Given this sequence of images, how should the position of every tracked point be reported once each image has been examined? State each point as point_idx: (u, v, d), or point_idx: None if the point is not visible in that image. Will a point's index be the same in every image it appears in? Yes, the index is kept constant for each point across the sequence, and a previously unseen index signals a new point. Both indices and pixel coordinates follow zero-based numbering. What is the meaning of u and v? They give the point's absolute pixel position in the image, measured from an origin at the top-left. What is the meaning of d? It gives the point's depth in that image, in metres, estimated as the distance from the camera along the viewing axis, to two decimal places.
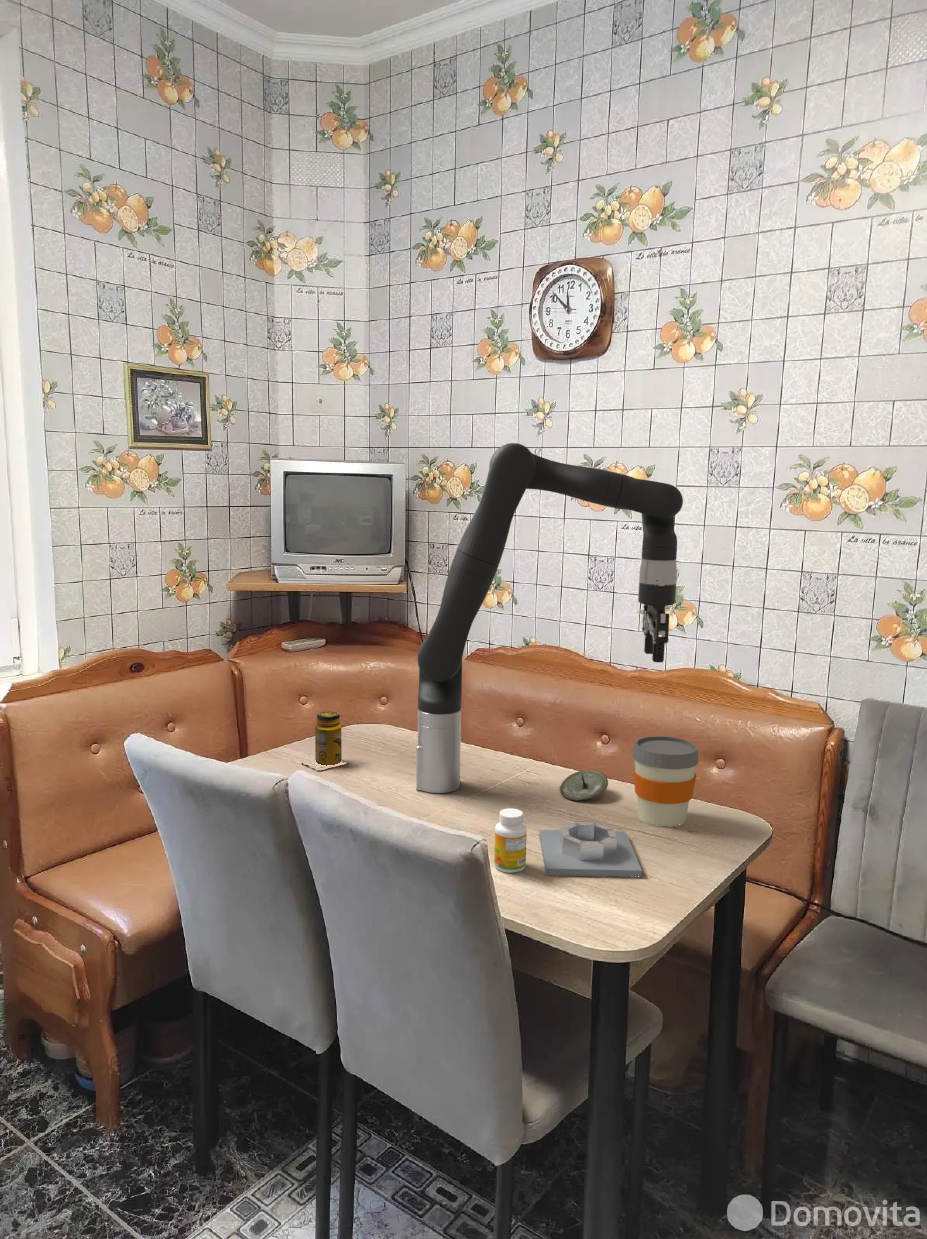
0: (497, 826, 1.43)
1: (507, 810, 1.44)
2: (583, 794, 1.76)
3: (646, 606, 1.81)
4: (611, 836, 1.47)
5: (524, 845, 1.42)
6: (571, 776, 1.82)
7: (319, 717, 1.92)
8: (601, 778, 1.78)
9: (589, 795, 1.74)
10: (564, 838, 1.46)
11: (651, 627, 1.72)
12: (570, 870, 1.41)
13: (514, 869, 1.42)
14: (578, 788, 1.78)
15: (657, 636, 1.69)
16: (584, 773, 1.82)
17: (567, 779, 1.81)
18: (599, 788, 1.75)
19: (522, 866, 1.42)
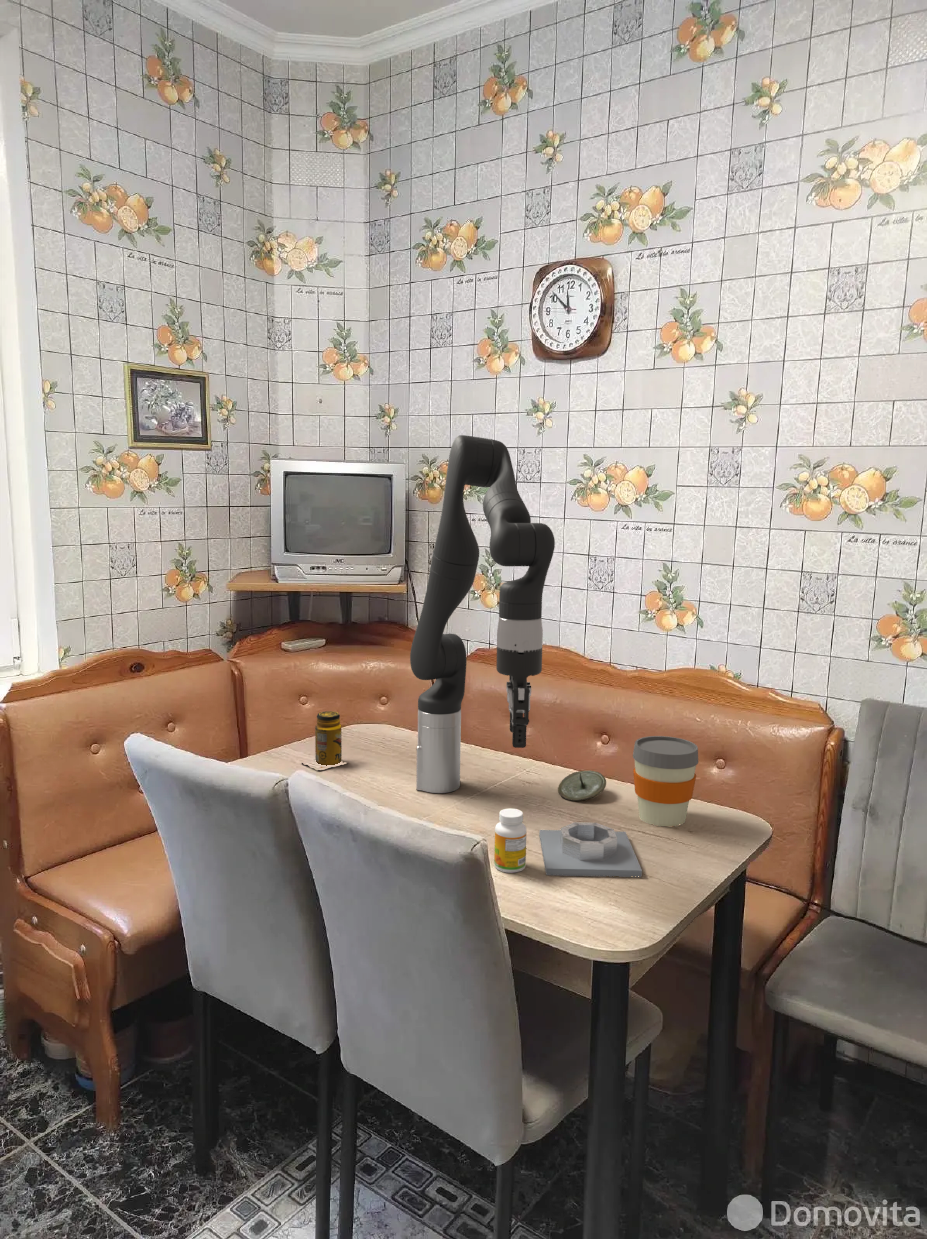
0: (497, 826, 1.43)
1: (507, 810, 1.44)
2: (581, 794, 1.76)
3: None
4: (611, 836, 1.47)
5: (524, 845, 1.42)
6: (569, 776, 1.82)
7: (319, 717, 1.92)
8: (599, 778, 1.78)
9: (587, 795, 1.74)
10: (564, 838, 1.46)
11: (510, 703, 1.37)
12: (570, 870, 1.41)
13: (514, 869, 1.42)
14: (576, 789, 1.78)
15: (514, 717, 1.33)
16: (582, 773, 1.82)
17: (565, 779, 1.81)
18: (597, 788, 1.75)
19: (522, 866, 1.42)
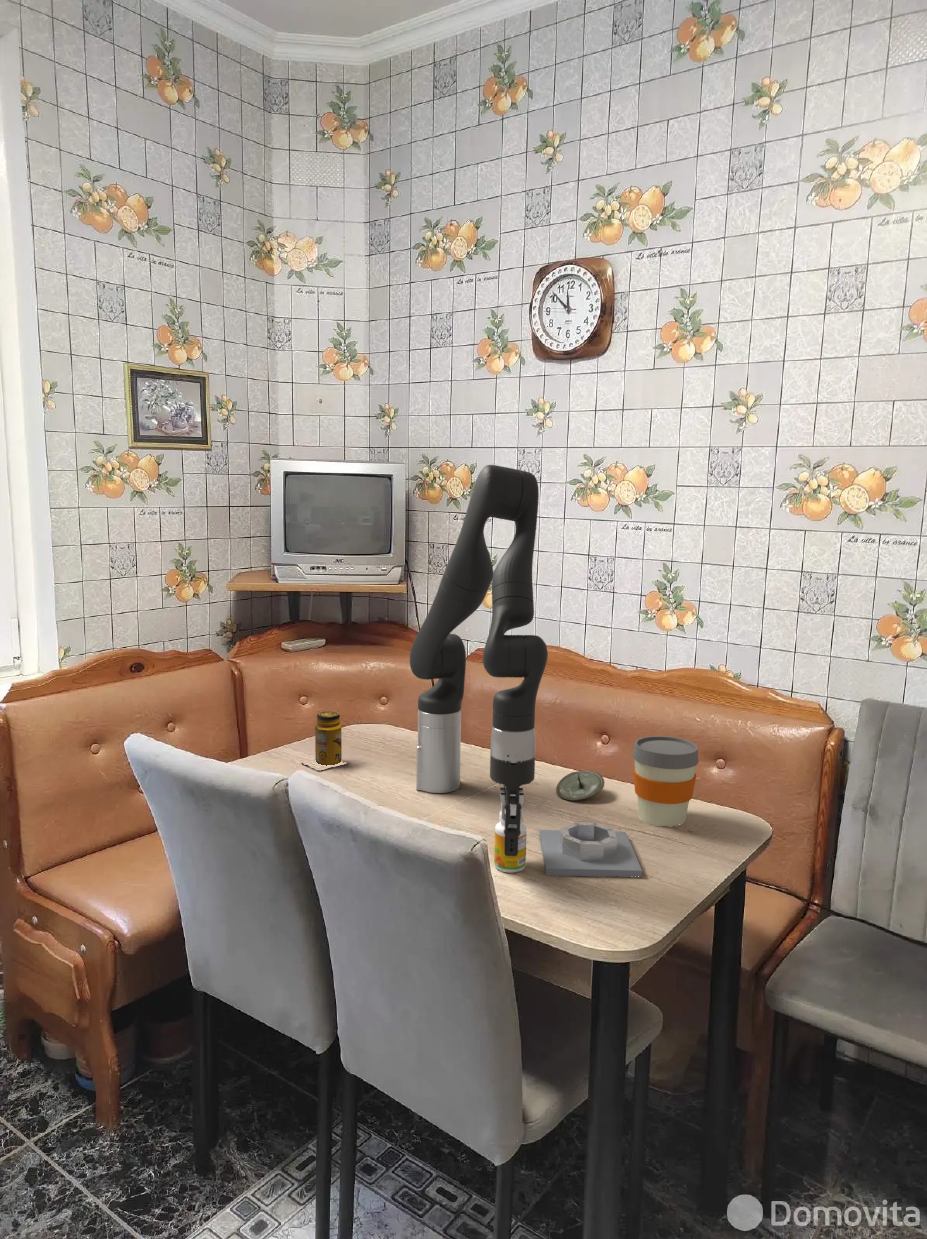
0: (497, 826, 1.43)
1: None
2: (579, 794, 1.76)
3: None
4: (611, 836, 1.47)
5: (524, 845, 1.42)
6: (567, 776, 1.82)
7: (319, 717, 1.92)
8: (597, 778, 1.78)
9: (586, 795, 1.74)
10: (564, 838, 1.46)
11: (502, 813, 1.40)
12: (570, 870, 1.41)
13: (514, 869, 1.42)
14: (575, 789, 1.78)
15: (506, 830, 1.37)
16: (580, 773, 1.82)
17: (563, 779, 1.81)
18: (595, 788, 1.75)
19: (522, 866, 1.42)
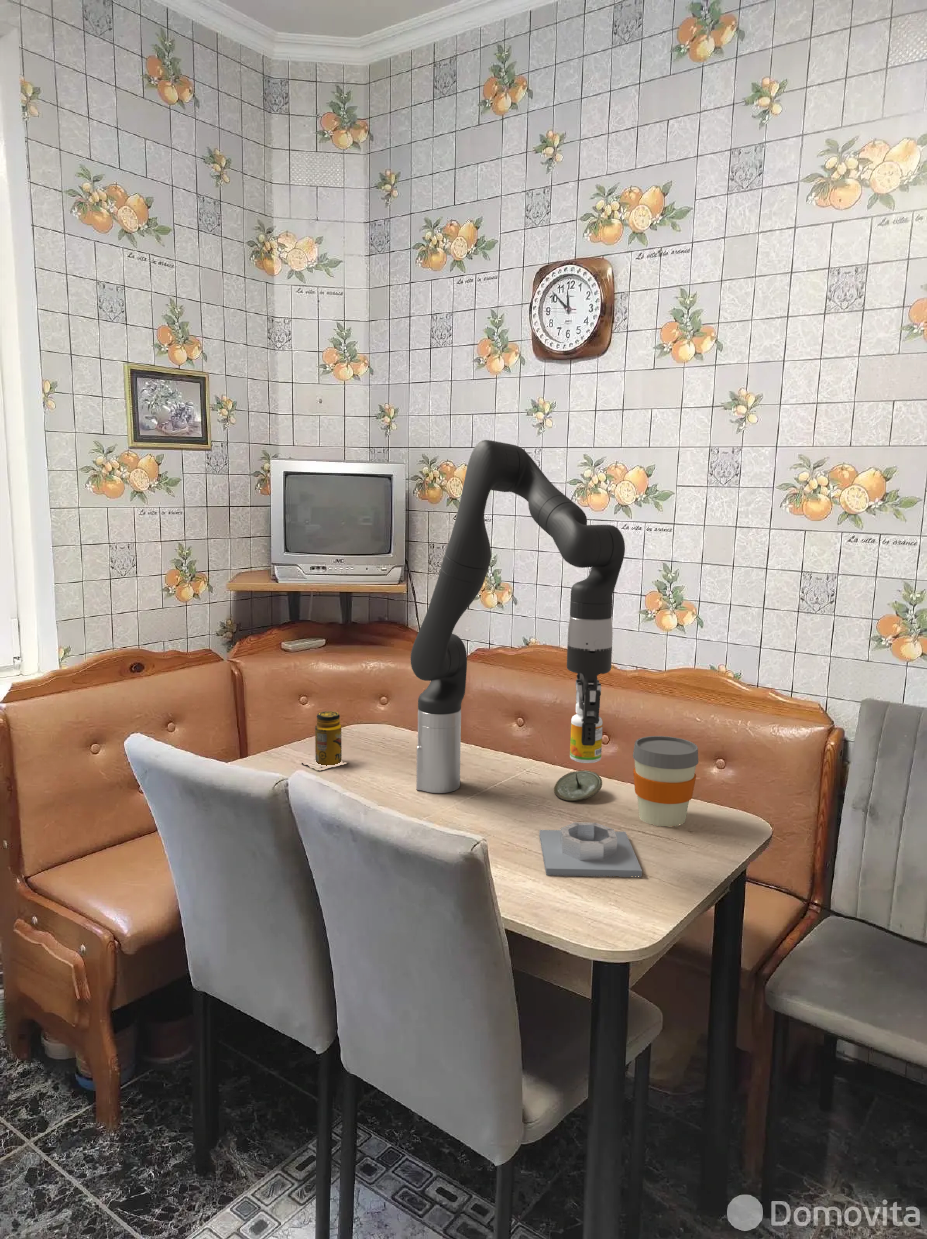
0: (573, 717, 1.44)
1: None
2: (577, 794, 1.75)
3: (579, 674, 1.49)
4: (611, 836, 1.47)
5: (600, 736, 1.43)
6: (565, 776, 1.82)
7: (319, 717, 1.92)
8: (595, 778, 1.78)
9: (584, 795, 1.74)
10: (564, 838, 1.46)
11: (580, 702, 1.41)
12: (570, 870, 1.41)
13: (591, 759, 1.43)
14: (572, 789, 1.78)
15: (585, 717, 1.38)
16: (578, 773, 1.82)
17: (561, 779, 1.81)
18: (593, 788, 1.75)
19: (599, 757, 1.44)
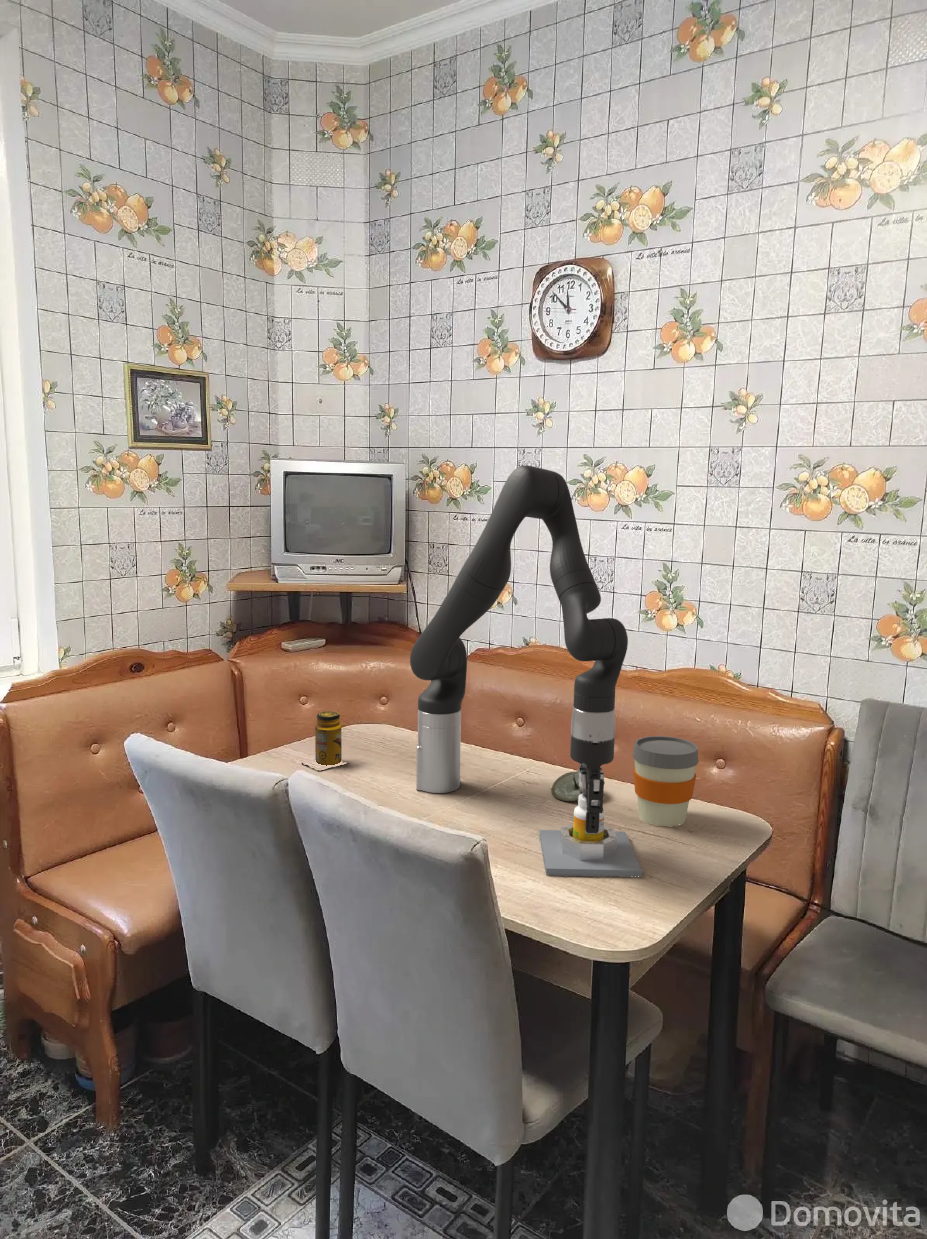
0: (576, 810, 1.47)
1: None
2: (575, 794, 1.75)
3: None
4: (611, 836, 1.47)
5: (602, 828, 1.47)
6: (562, 777, 1.81)
7: (319, 717, 1.92)
8: None
9: None
10: (564, 838, 1.46)
11: (584, 791, 1.44)
12: (570, 870, 1.41)
13: None
14: (570, 789, 1.78)
15: (589, 806, 1.40)
16: (575, 774, 1.81)
17: (558, 779, 1.81)
18: None
19: None
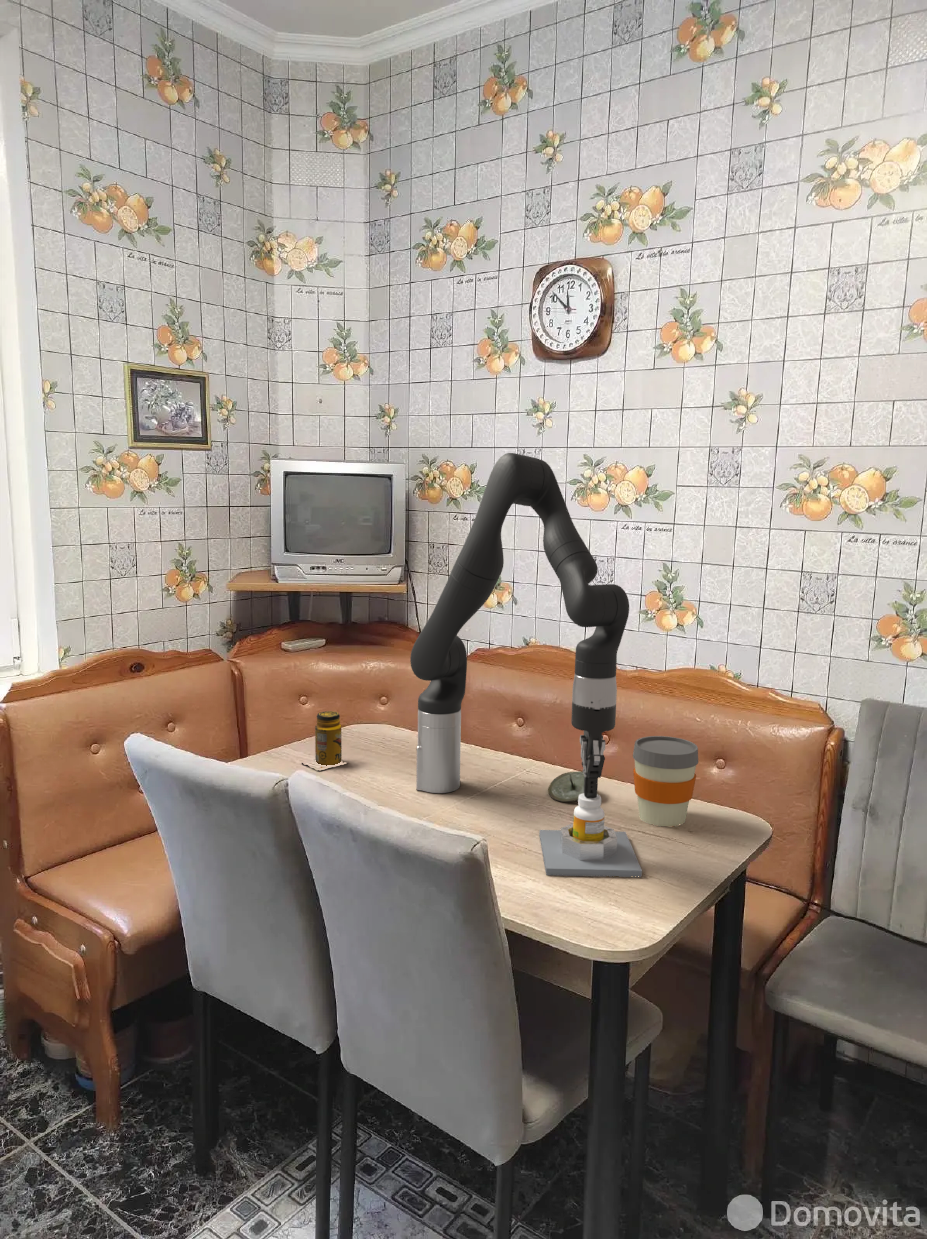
0: (576, 810, 1.47)
1: None
2: (572, 795, 1.75)
3: None
4: (611, 836, 1.47)
5: (602, 828, 1.47)
6: (559, 777, 1.81)
7: (319, 717, 1.92)
8: None
9: (578, 796, 1.73)
10: (564, 838, 1.46)
11: (584, 759, 1.44)
12: (570, 870, 1.41)
13: None
14: (567, 790, 1.77)
15: (588, 774, 1.43)
16: (571, 774, 1.81)
17: (555, 780, 1.80)
18: None
19: None
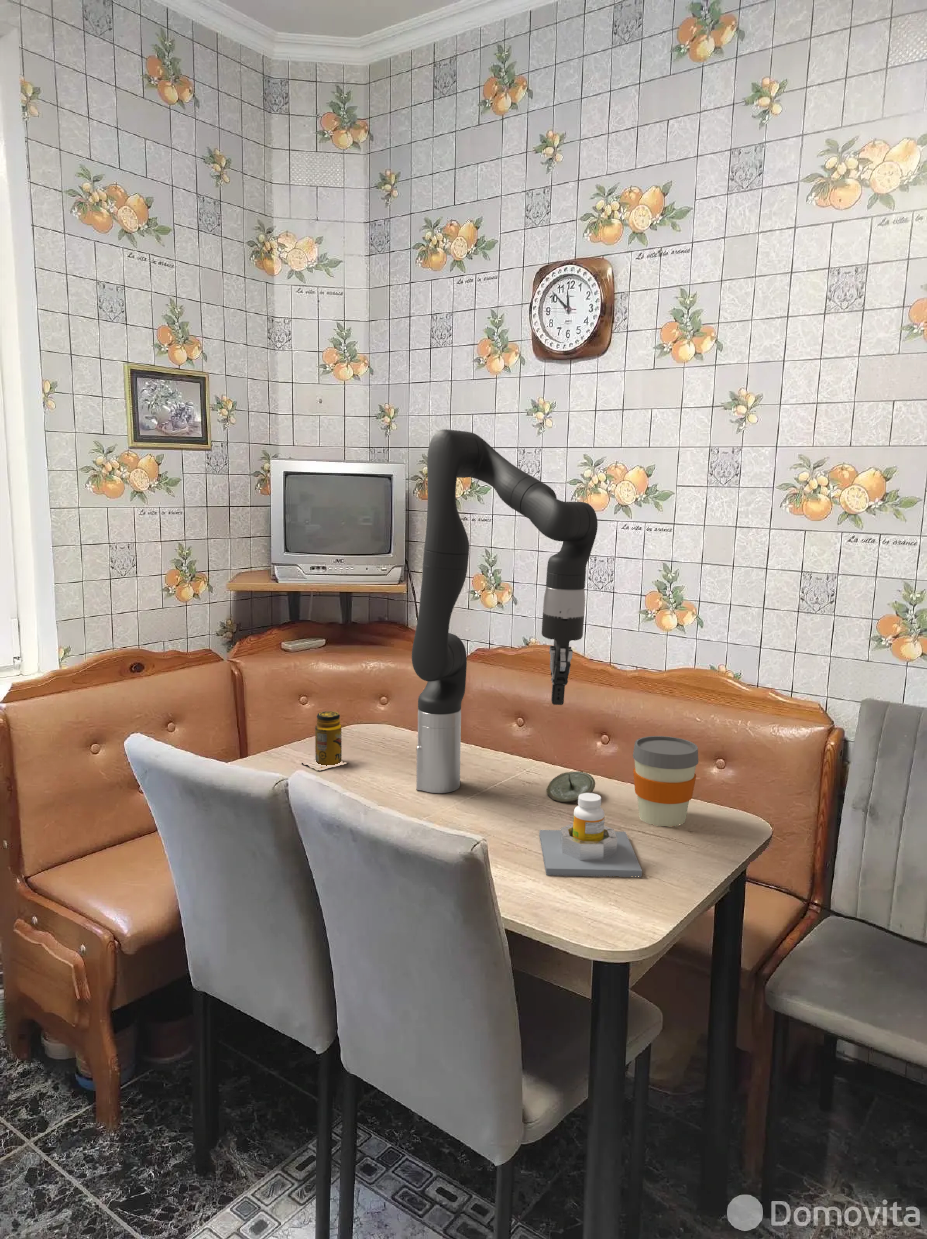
0: (576, 810, 1.47)
1: (585, 794, 1.48)
2: (571, 795, 1.75)
3: None
4: (611, 836, 1.47)
5: (602, 828, 1.47)
6: (557, 777, 1.81)
7: (319, 717, 1.92)
8: (588, 779, 1.78)
9: (577, 796, 1.73)
10: (564, 838, 1.46)
11: (552, 667, 1.53)
12: (570, 870, 1.41)
13: None
14: (565, 790, 1.77)
15: (555, 680, 1.52)
16: (570, 774, 1.81)
17: (553, 780, 1.80)
18: (586, 789, 1.75)
19: None
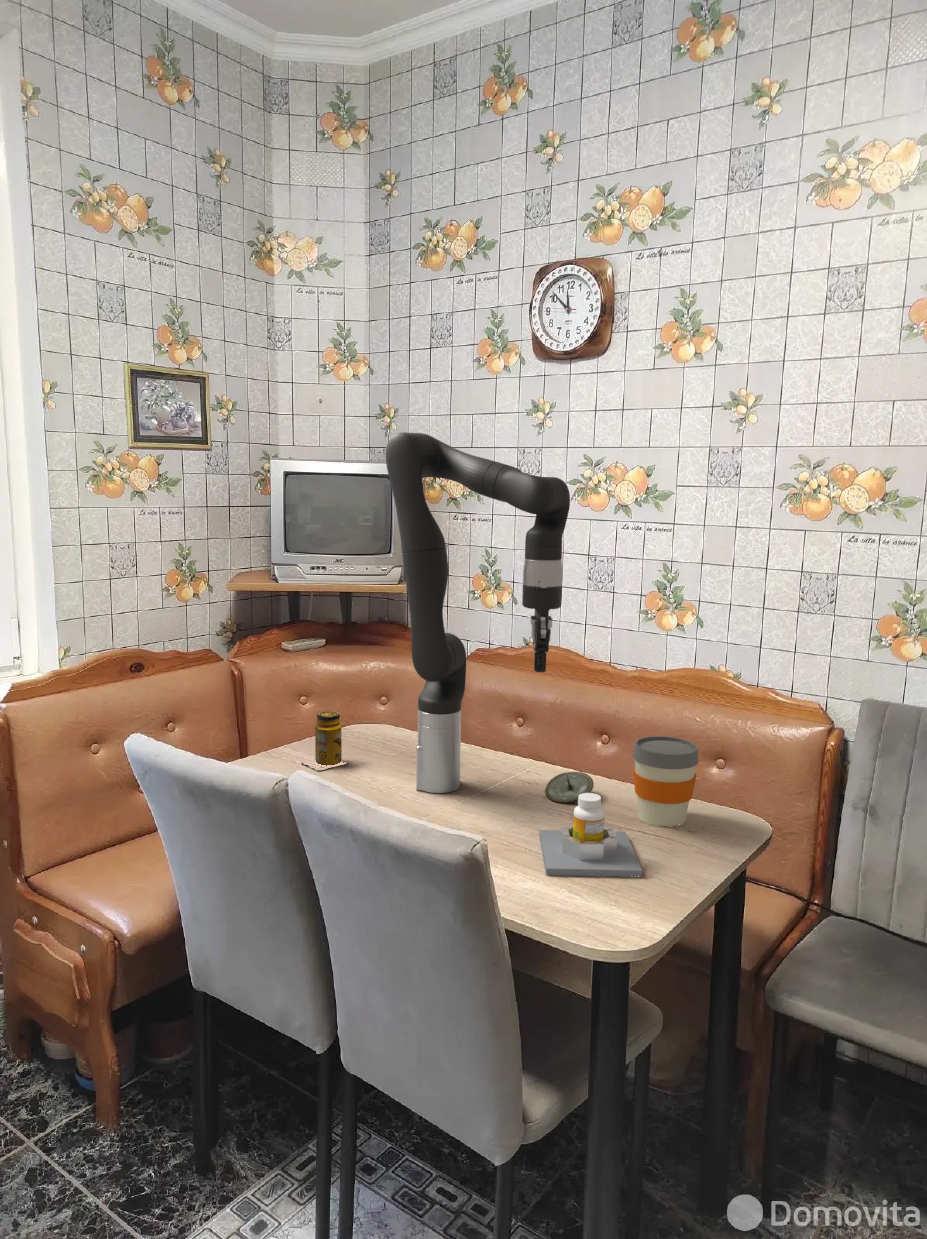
0: (576, 810, 1.47)
1: (585, 794, 1.48)
2: (569, 795, 1.75)
3: None
4: (611, 836, 1.47)
5: (602, 828, 1.47)
6: (555, 778, 1.81)
7: (319, 717, 1.92)
8: (586, 779, 1.77)
9: (575, 797, 1.73)
10: (564, 838, 1.46)
11: (533, 636, 1.60)
12: (570, 870, 1.41)
13: None
14: (564, 790, 1.77)
15: (536, 648, 1.59)
16: (568, 774, 1.81)
17: (552, 780, 1.80)
18: (584, 789, 1.75)
19: None
